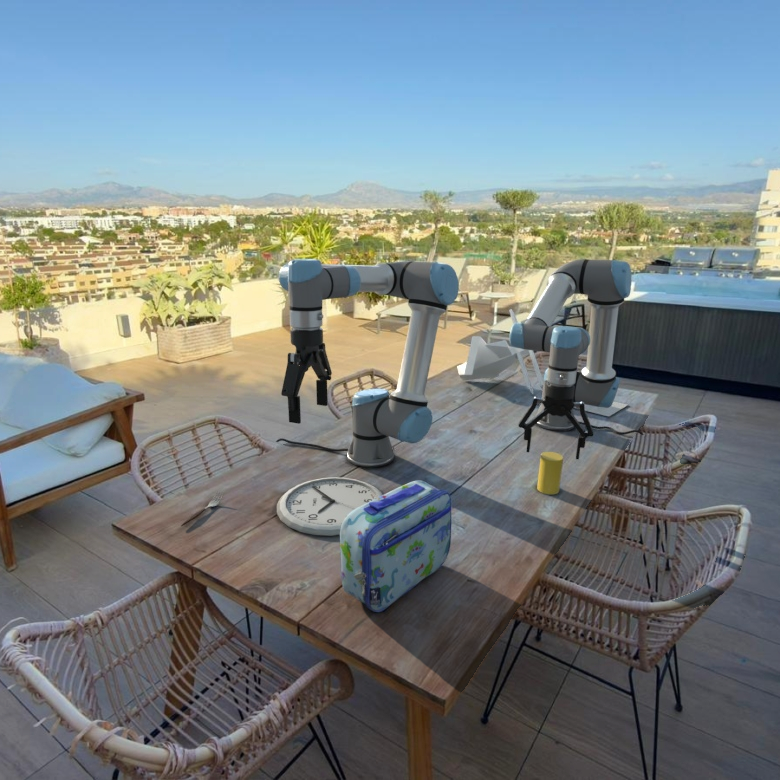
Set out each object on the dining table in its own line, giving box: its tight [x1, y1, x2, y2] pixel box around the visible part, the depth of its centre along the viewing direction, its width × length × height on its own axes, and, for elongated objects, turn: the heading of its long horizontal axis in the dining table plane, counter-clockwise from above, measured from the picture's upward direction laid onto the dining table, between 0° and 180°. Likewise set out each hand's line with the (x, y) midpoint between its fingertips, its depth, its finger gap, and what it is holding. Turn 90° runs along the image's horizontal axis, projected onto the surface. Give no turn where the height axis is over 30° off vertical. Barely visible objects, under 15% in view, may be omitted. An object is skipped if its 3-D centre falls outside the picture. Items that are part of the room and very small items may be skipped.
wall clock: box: [276, 476, 385, 537], centre depth 142 cm, size 30×2×30 cm
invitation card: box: [573, 400, 629, 418], centre depth 226 cm, size 21×1×15 cm
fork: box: [180, 491, 225, 527], centre depth 138 cm, size 3×16×2 cm, turn 160°
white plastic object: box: [456, 308, 544, 395], centre depth 252 cm, size 37×45×31 cm
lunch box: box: [339, 479, 452, 613], centre depth 109 cm, size 26×11×21 cm, turn 134°
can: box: [536, 451, 564, 496], centre depth 152 cm, size 6×6×11 cm
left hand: (309, 413), depth 128 cm, fingers open, 13 cm apart
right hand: (552, 454), depth 150 cm, fingers open, 13 cm apart
